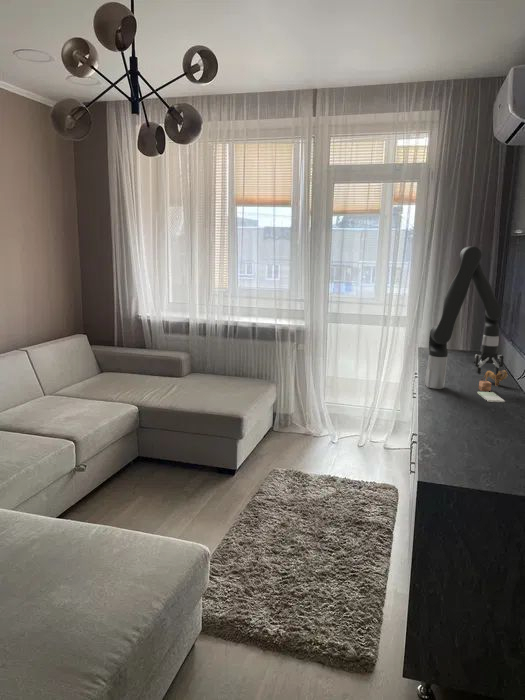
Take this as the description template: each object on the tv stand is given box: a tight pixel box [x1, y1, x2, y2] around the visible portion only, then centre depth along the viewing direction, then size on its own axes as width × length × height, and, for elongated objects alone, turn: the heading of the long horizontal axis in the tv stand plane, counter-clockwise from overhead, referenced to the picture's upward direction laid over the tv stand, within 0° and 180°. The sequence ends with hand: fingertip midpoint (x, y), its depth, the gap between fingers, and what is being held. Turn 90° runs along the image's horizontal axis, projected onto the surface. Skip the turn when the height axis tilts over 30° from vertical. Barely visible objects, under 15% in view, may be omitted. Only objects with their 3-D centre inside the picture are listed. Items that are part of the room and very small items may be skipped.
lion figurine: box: [480, 369, 509, 387], centre depth 277 cm, size 15×5×9 cm, turn 35°
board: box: [476, 391, 506, 403], centre depth 253 cm, size 8×14×1 cm, turn 178°
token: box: [478, 380, 492, 392], centre depth 265 cm, size 4×4×4 cm
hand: (487, 374), depth 264 cm, fingers open, 8 cm apart
